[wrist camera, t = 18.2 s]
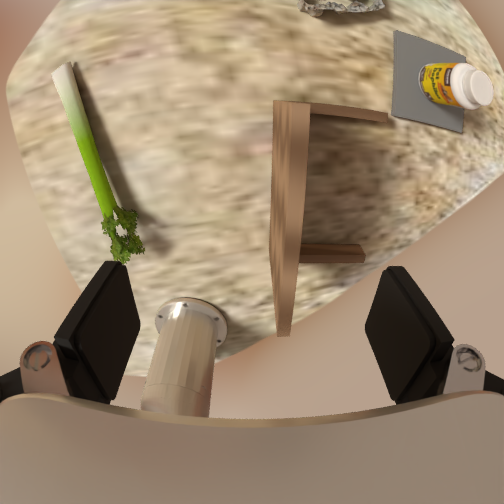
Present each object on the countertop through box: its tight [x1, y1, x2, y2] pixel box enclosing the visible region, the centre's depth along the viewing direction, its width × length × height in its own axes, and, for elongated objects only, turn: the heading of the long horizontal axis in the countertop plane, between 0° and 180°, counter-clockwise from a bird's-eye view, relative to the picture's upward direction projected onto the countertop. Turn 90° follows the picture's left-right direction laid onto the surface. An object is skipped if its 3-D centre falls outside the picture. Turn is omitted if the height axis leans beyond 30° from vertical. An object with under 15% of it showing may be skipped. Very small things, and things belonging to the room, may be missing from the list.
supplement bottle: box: [418, 63, 494, 110], centre depth 22 cm, size 6×6×10 cm
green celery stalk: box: [51, 62, 145, 265], centre depth 32 cm, size 6×7×30 cm
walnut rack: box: [269, 101, 388, 337], centre depth 28 cm, size 20×13×16 cm, turn 0°
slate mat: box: [391, 30, 466, 133], centre depth 27 cm, size 12×12×1 cm
